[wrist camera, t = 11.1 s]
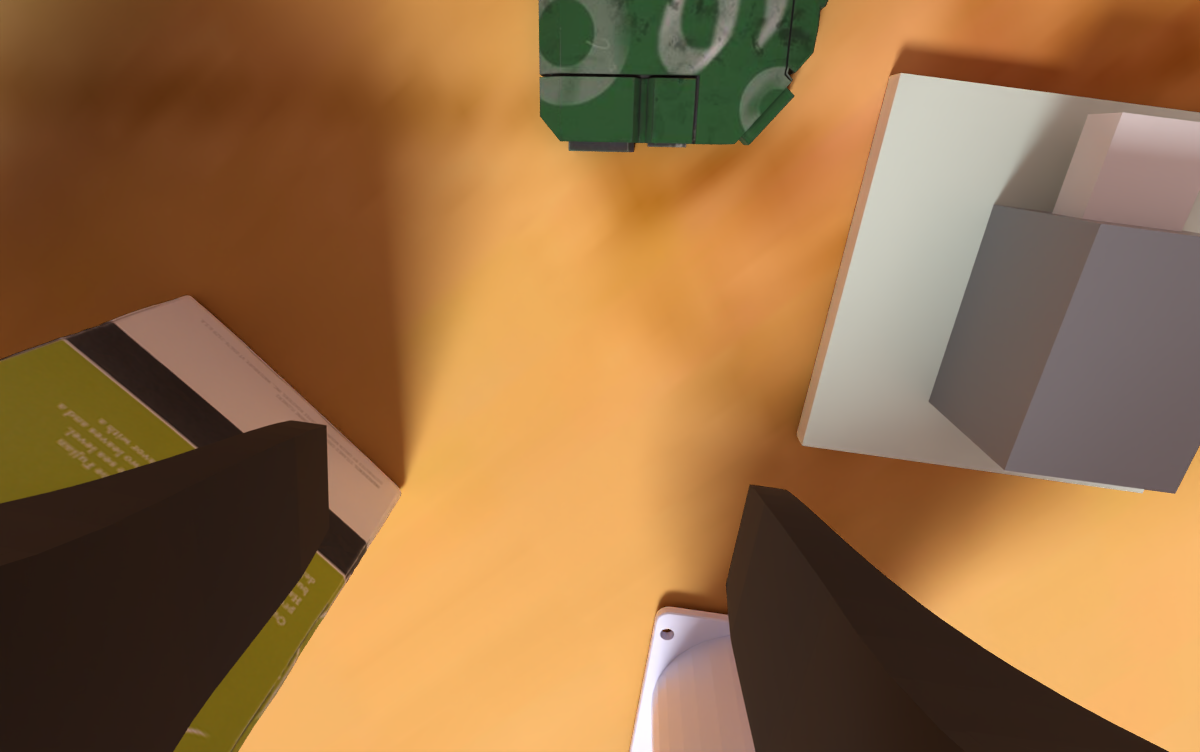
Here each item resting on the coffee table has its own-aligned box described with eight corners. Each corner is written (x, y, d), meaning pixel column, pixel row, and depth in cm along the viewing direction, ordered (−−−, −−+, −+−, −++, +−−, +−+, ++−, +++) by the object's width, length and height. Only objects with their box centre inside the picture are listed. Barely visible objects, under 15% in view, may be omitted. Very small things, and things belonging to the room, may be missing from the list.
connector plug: (1063, 419, 20) (1175, 493, 16) (928, 402, 20) (1004, 470, 16) (1183, 132, 17) (1359, 129, 13) (1024, 111, 17) (1148, 102, 13)
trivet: (1124, 480, 21) (1142, 493, 20) (796, 434, 21) (801, 445, 21) (1292, 129, 17) (1321, 128, 17) (889, 75, 17) (900, 72, 17)
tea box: (181, 685, 27) (-300, 1254, 13) (-27, 528, 25) (-868, 1017, 11) (418, 487, 23) (82, 1011, 9) (195, 279, 21) (-695, 556, 7)
